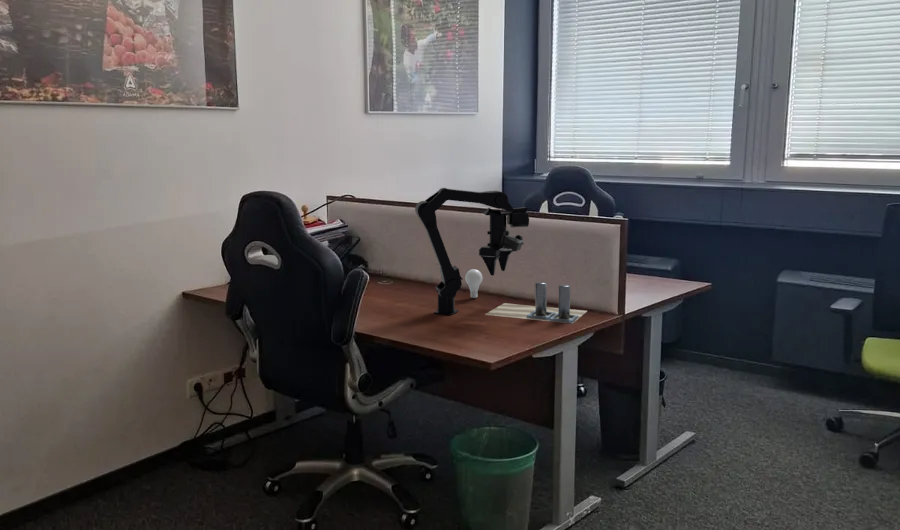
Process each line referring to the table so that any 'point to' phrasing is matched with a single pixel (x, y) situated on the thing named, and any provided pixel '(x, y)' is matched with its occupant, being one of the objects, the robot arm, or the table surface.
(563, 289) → the fixed pin
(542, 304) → the pin
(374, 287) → the table surface
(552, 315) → the board
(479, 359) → the table surface
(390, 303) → the table surface
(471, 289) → the lightbulb
